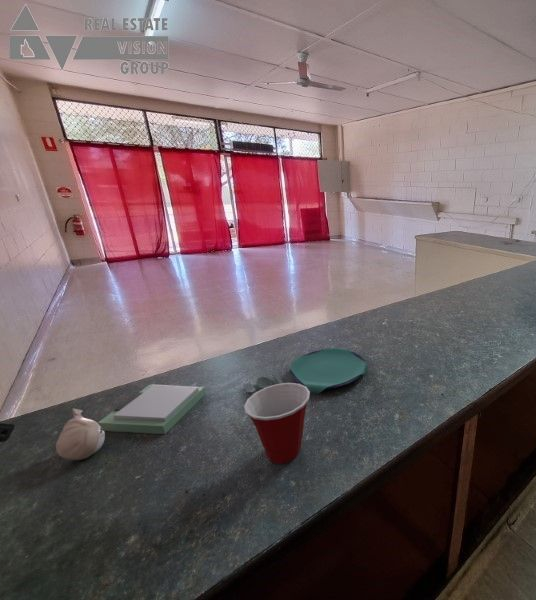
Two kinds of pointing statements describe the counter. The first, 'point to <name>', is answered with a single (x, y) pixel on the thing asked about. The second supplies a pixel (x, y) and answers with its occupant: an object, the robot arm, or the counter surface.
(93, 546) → the counter surface
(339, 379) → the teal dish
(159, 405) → the scale
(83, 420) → the garlic bulb
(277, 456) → the plastic cup
